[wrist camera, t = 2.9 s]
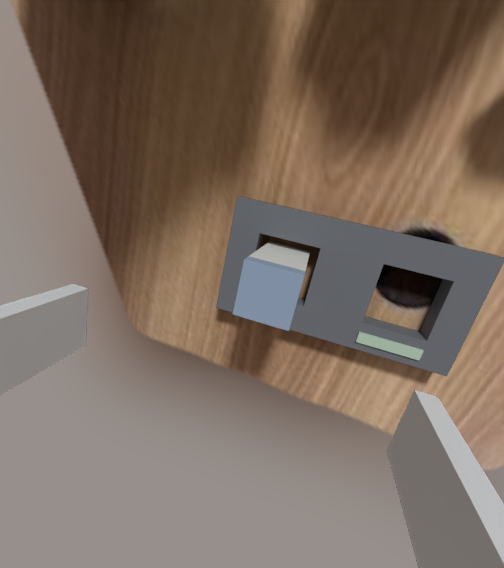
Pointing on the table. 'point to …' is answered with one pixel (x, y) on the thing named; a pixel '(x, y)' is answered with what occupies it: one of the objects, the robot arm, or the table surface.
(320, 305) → the faceplate
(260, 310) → the plug
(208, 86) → the table surface
